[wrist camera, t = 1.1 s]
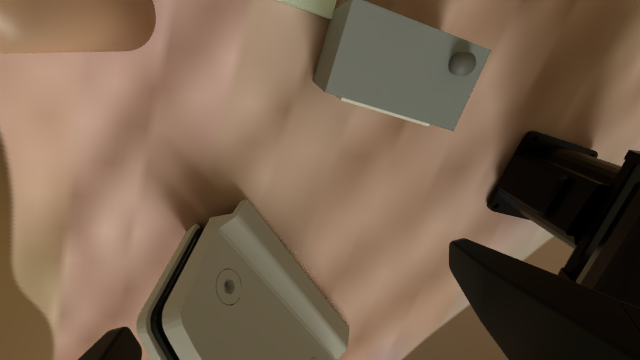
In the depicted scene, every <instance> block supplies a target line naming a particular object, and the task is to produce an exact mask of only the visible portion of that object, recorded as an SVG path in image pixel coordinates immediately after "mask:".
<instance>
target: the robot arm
mask: <svg viewBox="0 0 640 360" xmlns="http://www.w3.org/2000/svg"><path fill="white" fill-rule="evenodd" d="M533 136H534V137H533ZM532 137H533V139H532ZM531 139H532V140H531ZM597 156H598V153H597V152H596V151H594V150H591V149H587V148H584V147H581V146H578V145H575V144H572V143H569V142H566V141H563V140H560V139H557V138H554V137H551V136H548V135H545V134H542V133H539V132H536V131H530V132H528V133H527V134H526V135H525V136H524V138H523V140H522V142H521V144H520V145H519V147H518V149H517V151H516V152H515V154H514V156H513V158H512V160H511V161H510V163H509V165H508V167H507V169H506V170H505V172H504V174H503V176H502V178H501V179H500V181H499V183H498V185H497V186H496V188H495V190H494V192H493V194H492V195H491V197H490V199H489V201H488V203H487V207H488V208H489V209H490V210H492V211H494V212H498V213H503V214H507V215H511V216H515V217H519V218H524V219H528V220H532V221H533V222H535V223H536V224H538V225H539V226H541V227H542V228H544V229H545V230H546V231H548V232H549V233H551V234H552V235H554V236H555V237H557V238H558V239H560V240H561V241H563V242H565V243H566V244H567V245H569V246H570V247H572V248H573V249H574V250H573V252H572V254H571V256H570V257H569V259H568V261H567V263H566V264H565V266H564V268H561V269H560V271H559V273H558V275H556V274H553V273H550V272H548V271H546V270H543V269H541V268H538V267H536V266H533V265H531V264H528V263H526V262H523V261H521V260H518V259H516V258H513V257H511V256H508V255H506V254H503V253H501V252H498V251H496V250H493V249H491V248H488V247H486V246H483V245H481V244H478V243H476V242H473V241H470V240H468V239H465V238H462V239H458V240H454V241H452V242H450V244H449V267H450V270H451V272H452V274H453V275H454V277H455V279H456V280H457V282H458V284H459V286H460V287H461V289H462V291H463V292H464V294H465V296H466V297H467V299H468V301H469V303H470V304H471V306H472V308H473V309H474V311H475V313H476V314H477V316H478V317H479V319H480V321H481V322H482V323H483V325H484V326H485V328H486V329H487V331H488V332H489V333H490V335H491V336H492V337H493V339H494V340H495V342H496V343H497V344H498V346H499V347H500V348H501V350H502V351H503V353H504V354H505V355H506V357H507V358H508V359H509V360H640V151H635V150H629V151H628V152H627V154H626V156H625V158H624V159H625V162H624V163H623V165H622V167H621V166H618V165H615V164H613V163H610V162H607V161H604V160H601V159H598V158H597ZM495 203H496V204H495ZM494 204H495V205H494ZM141 357H142V349H141V346H140V344H139V342H138V341H137V339H136V338H135V336H134V335H133V333H132V332H131V330H130V329H129V328H128V327H120V328H116V329H112V330H110V331H108V332H107V333H106V334H105V335H103V336H102V337H101V338H100V339H99V340H98V341H97V342H96V343H95V344H94V345H93V346H92V347H91V348H90V349H89V350H88V351H86V352H85V353H84V354H83V355H82V356H81V357H80V358H79V359H78V360H141Z"/></svg>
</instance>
